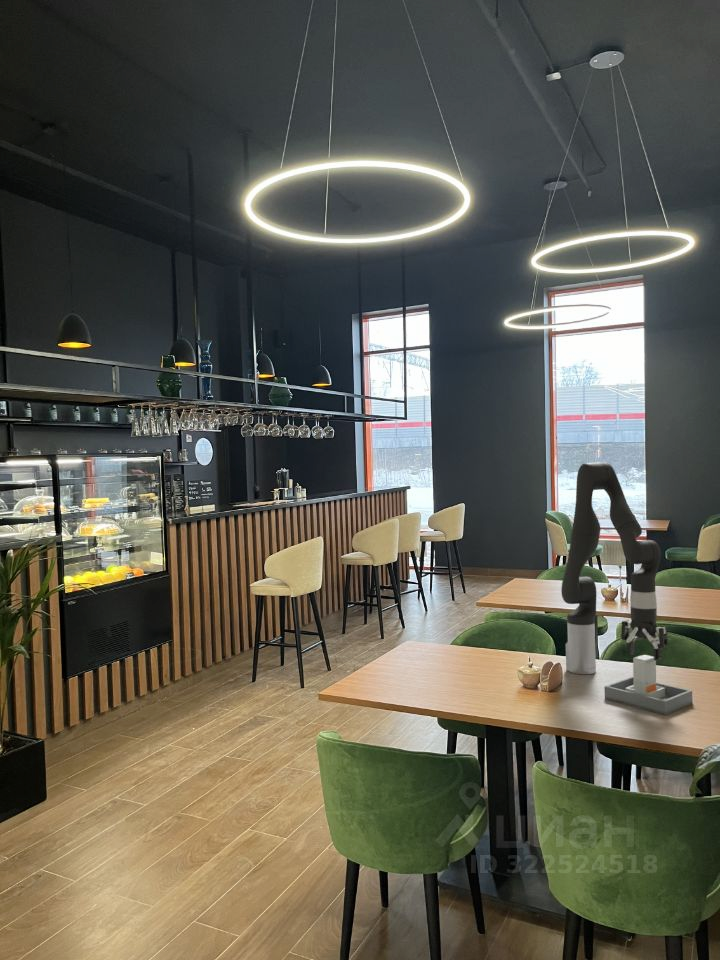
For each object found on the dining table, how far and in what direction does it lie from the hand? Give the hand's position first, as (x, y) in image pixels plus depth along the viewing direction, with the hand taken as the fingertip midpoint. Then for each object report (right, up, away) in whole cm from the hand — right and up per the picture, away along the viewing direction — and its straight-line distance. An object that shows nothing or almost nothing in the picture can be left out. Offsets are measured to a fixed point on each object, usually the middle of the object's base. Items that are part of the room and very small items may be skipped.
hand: (644, 657), depth 222 cm
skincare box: (0, -12, 0) cm, 12 cm away
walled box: (0, -13, -3) cm, 13 cm away
